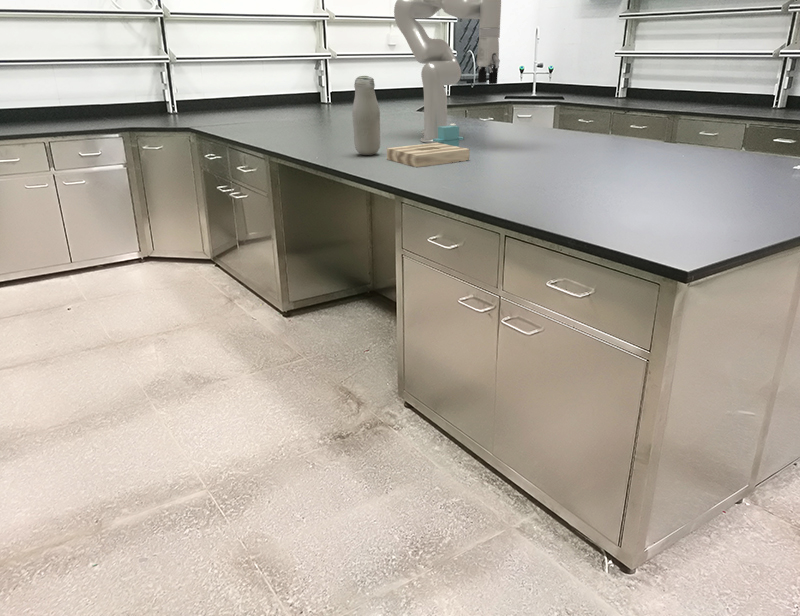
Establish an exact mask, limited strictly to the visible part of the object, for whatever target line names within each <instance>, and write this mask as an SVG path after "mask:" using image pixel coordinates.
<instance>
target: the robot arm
mask: <svg viewBox="0 0 800 616" xmlns="http://www.w3.org/2000/svg"><path fill="white" fill-rule="evenodd" d="M441 9H442V10H443V12H444V13H445V14H447V15H449V16H451V17H453V18H457V19H461V20H479V22H478V23H479V25H478V26H479V29H478V32H479V33H478V35H479V36H478V39H479V40H478V45H477V51H476V52H477V54H476V55H477V56H476V66H477V73H478V74H477V82H478V83H486V82H487V68H488V70H489V72H488V84H489V85H496V84H498V73H499V67H500V63H501V60H500V46H499V45H500V43H499V41H500V39H499V38H500V37H501V35H500V34H501V17H502V16H501V13H502V0H396V2H395V4H394V9H393V14H394V15H393V16H394V20H395V21H394V22H395V24H396V25H397V27H398V29H399V31H400V32H401V34H402V35H403V37H404V38H405V41H406V42H407V44H408V46H409V48H410V50H411V52H412V54H413V56H414V58H415V60H416V61H417V63H419V64H423V67H422V69H421V73H420V74H421V80H422V81H421V82H422V86H423V88H422V89H423V123H424V125H423V126H424V127H423V130H422V131H421V133H420V134H421V135H423V137H420V142H422V143H425V144H430V143H438V142H435V141H433V139H437V138H438V127H441V126H448V125H447V124H448V122H447V121H448V97H447V96H448V95H447V92H446V90H445V88H444V86H452V85H455V84H457V83H458V82H459V81H460V80H461V77H462V69H461V67H460V64H459V61H458V60H457V58H456V56H455V54H454V52H453V50H452V49H451V46H450V45H449V44H448V43H447V41H445V40H444V39H441V38H431V37H429V35H428V34H427V31H426V30H425V28H424V26H423V25H422V24H421V23H419V21H417V19H428V18H429V19H430V18H432V17H433V16H434V15H435V14H437V12H439V11H440V10H441Z"/></svg>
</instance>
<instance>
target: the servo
mask: <svg viewBox="0 0 800 616" xmlns="http://www.w3.org/2000/svg"><path fill="white" fill-rule="evenodd" d="M464 139H465V138H464V137H463V136H460V126H458V125H457V123H449V125H447V126H441V127H438V138H437V139H433V141H435V142H438V143H442V144H447V145H452V146H457V147H460V141H463V140H464Z"/></svg>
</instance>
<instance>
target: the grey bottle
mask: <svg viewBox="0 0 800 616" xmlns="http://www.w3.org/2000/svg"><path fill="white" fill-rule="evenodd" d="M374 80H375V79H374V78H373V77H372V76H369V75H360V76H357V77H356V78H355V79H354V99H353V104H352V109H351V111H352V114H351V118H352V127H353V140H354V142H353V143H354V147H355V150H356V152H357V153H359V154H360V155H363V156H373V155H375V154H377V153H378V152H379V150H380V148H381V115H380V114H381V113H380V107H379V102H378V100H377V96H376V92H375V86H376V85H375V81H374Z"/></svg>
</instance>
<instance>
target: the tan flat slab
mask: <svg viewBox="0 0 800 616" xmlns="http://www.w3.org/2000/svg"><path fill="white" fill-rule="evenodd" d="M470 154H471V153H470V148H466V147H460V146H459V147H457V146H452V145H447V144H442V143H423V144H414V145H413V144H412V145H405V146H404V145H403V146H396V147H395V146H394V147H387V148H386V160H389V161H393V162H396V163H400V164H404V165H407V166H410V167H413V168H414V167H415V168H420V167H429V166H435V165H443V164H445V165H446V164H451V163H452V162H453V163H459V161H461V162H467V161H466V160H469V161H470Z"/></svg>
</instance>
